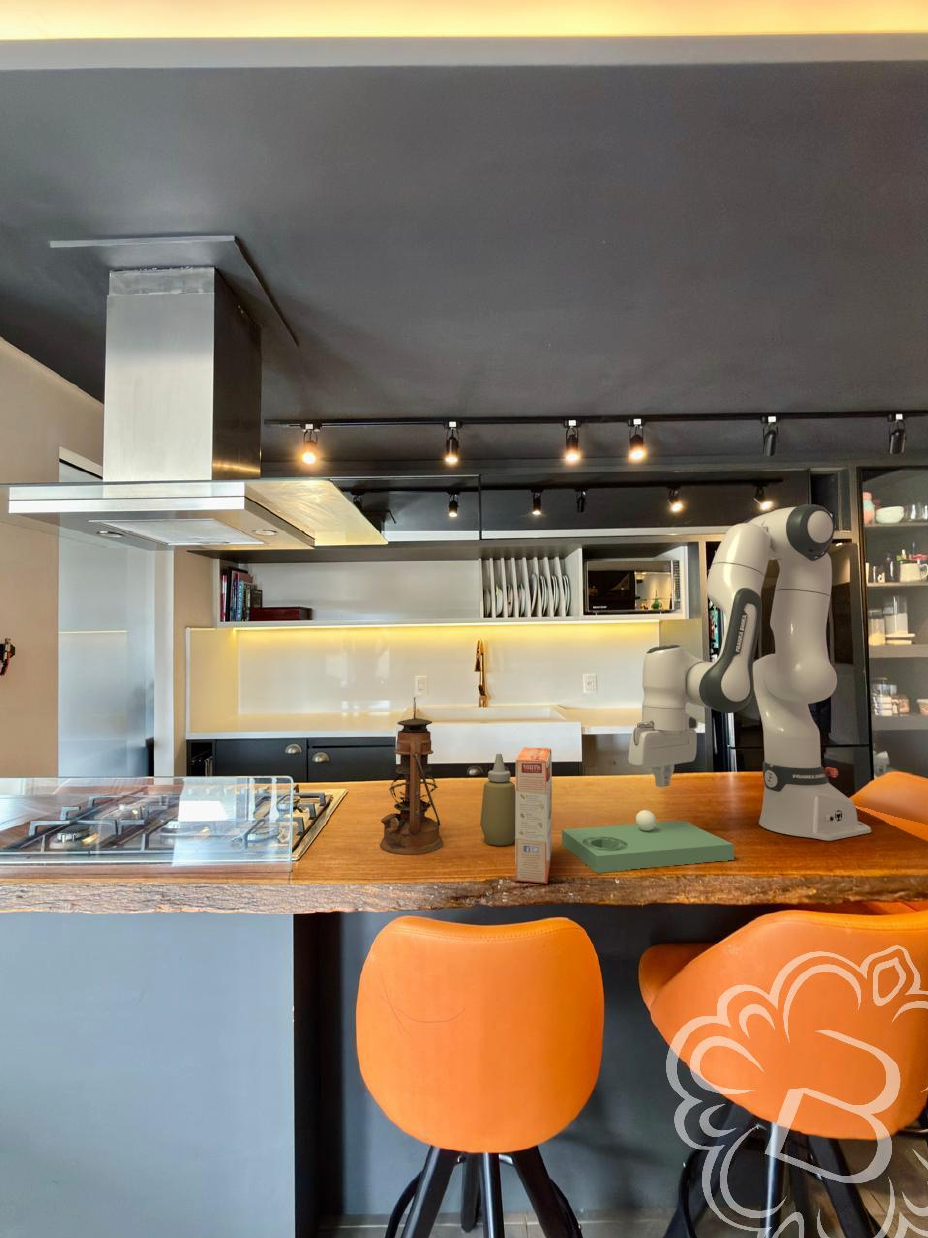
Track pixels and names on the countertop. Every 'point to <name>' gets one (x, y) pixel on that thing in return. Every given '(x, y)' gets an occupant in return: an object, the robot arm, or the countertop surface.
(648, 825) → the ball
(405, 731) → the lantern
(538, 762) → the cracker box
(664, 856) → the putting board
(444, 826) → the countertop surface
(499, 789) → the squeeze bottle
